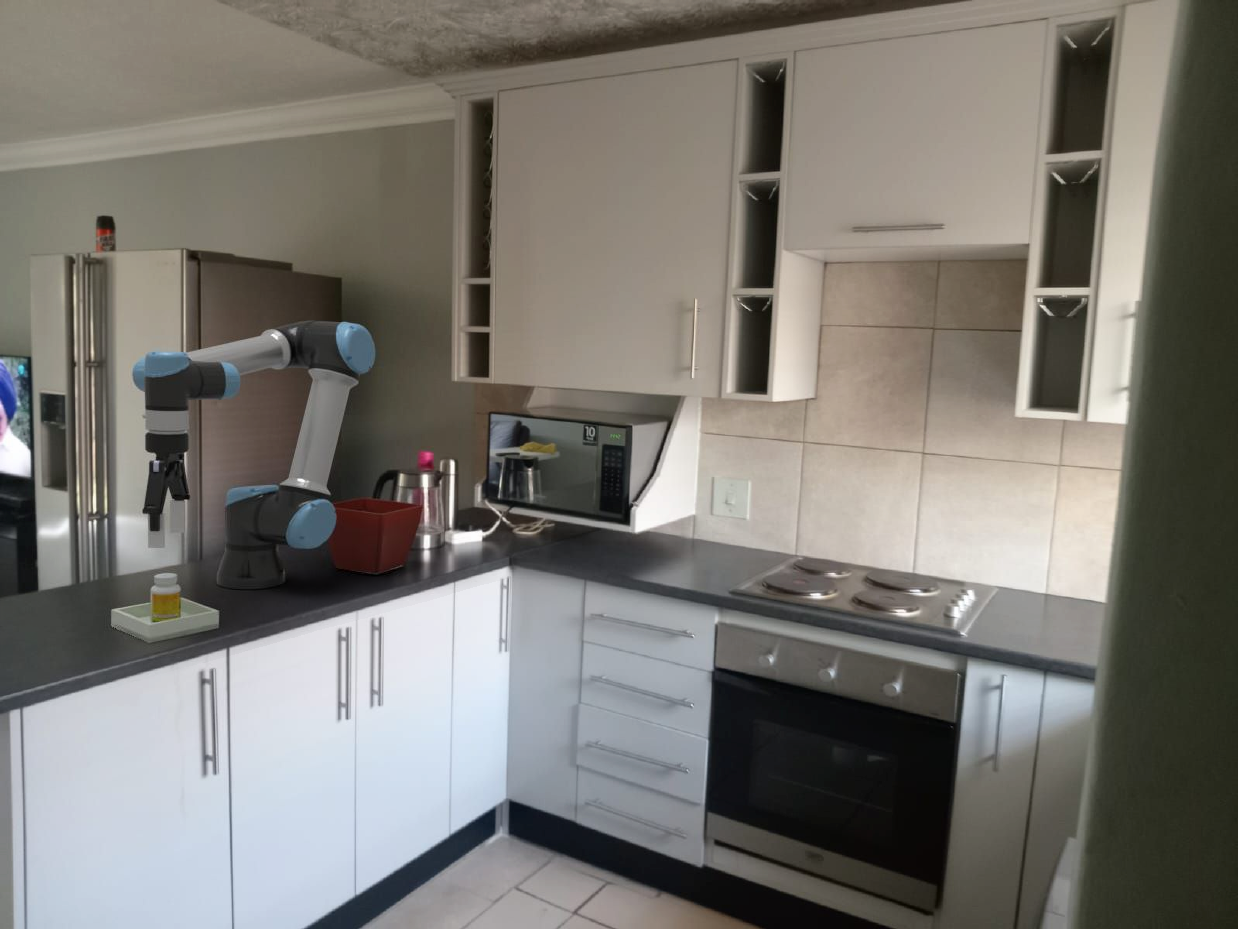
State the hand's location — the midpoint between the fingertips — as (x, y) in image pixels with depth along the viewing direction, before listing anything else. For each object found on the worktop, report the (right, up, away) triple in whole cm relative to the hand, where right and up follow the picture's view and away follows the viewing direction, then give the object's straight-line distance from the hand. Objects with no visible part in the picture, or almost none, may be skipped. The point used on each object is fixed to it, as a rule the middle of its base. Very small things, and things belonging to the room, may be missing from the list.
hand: (167, 539), depth 179 cm
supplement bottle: (-1, -17, +1) cm, 17 cm away
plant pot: (+23, -13, +60) cm, 65 cm away
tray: (-1, -17, +2) cm, 18 cm away
